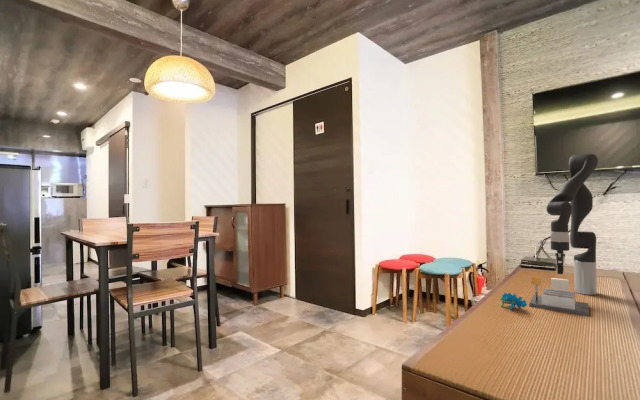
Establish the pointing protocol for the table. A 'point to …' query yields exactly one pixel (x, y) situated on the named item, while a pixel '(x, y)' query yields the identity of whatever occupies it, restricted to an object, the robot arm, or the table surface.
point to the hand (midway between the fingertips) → (560, 272)
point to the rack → (557, 300)
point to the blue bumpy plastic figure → (512, 300)
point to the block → (560, 284)
